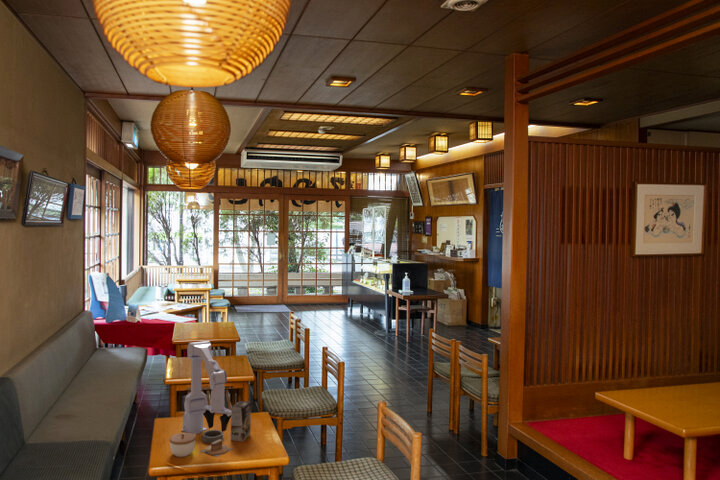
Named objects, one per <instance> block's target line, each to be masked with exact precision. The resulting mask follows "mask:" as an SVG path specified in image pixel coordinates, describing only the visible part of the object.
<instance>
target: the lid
mask: <svg viewBox="0 0 720 480" xmlns="http://www.w3.org/2000/svg"><path fill="white" fill-rule="evenodd" d="M228 447H229V446H227V445H226V444H223V440H220V439H219V440H217V441H214V442H212V443H210V445H207V446H206V447H205V448H204V449H205V452H206V453H207V455H209V454H211V456H213V455H219V454H222V455H224V454H225V452H226V453H227V451H228ZM228 452H229V451H228ZM206 453H205V454H206ZM223 453H224V454H223Z"/></svg>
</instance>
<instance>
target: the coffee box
mask: <svg viewBox="0 0 720 480" xmlns="http://www.w3.org/2000/svg"><path fill="white" fill-rule="evenodd" d="M231 411H232V416H231V418H230V441H235V442H236V441H237V442H244V441H245V440H246V439H247V438H248V437H250V436H251V431H252V430H251V427H252V426H251V425H252V424H251V423H252V402H251V401H245V400H244V401H243V400H242V401H241V400H239V401H238V402H236V403H234V404H233V405H232V406H231Z"/></svg>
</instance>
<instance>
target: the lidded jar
mask: <svg viewBox="0 0 720 480" xmlns="http://www.w3.org/2000/svg"><path fill="white" fill-rule="evenodd" d="M196 438H197V437H196V434H192V433H188V432H180V433H179V432H178V433H174V434H173V435H171V436H170V437H169V447H170V448H169V449H170V451H171V453H172V454H173V455H174V456H175V457H177V458H183V457H187V456H189V455H190V454H192V452H193V451H194V449H195V446H196Z"/></svg>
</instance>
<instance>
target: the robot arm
mask: <svg viewBox="0 0 720 480" xmlns="http://www.w3.org/2000/svg"><path fill="white" fill-rule="evenodd" d="M186 349H187V350H186V351H187V356H186V357H187V359H190V392H189V393H188V394H186V396H185V398H184V405H183V406H184V407H183V408H184V414H183V415H182V429H180V430H181V431H182V432H184V433H192V434H194V435H198V434H200V433H204V432H206V431H208V429H212V428H213V427H214V422H215V421H214V419H215V418H214V417H215V415H216V414H219V415H220V416H219V420H220V424H221V426H220V427H221V428H220V431H222V432H223V433H224V432H225V431H227V427H228V424H229V422H230V421H231V416H232V409H231V410H230V409H229V408H226V407H225V385H226V384H227V382H228V381H227V380H228V375H227V372H226V370H224V369H223V368H221V367H220V364H219V362H218V361H217V360H215V359H213V356H212V353H211V352H212V343H211V341H210V340H202V341H194V342H191V341H190V342H188V345H187V347H186ZM202 360H203V362H204V364H205V365H204V368H205V371H206V372H207V375H208V380H209V381H208V382H209V388H210V405H209V402H208V398H207V394H206V393H205V392H203V389H202V384H203V383H202ZM204 418H205V420H206V424H207V427H208V428H207V427H204Z"/></svg>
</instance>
